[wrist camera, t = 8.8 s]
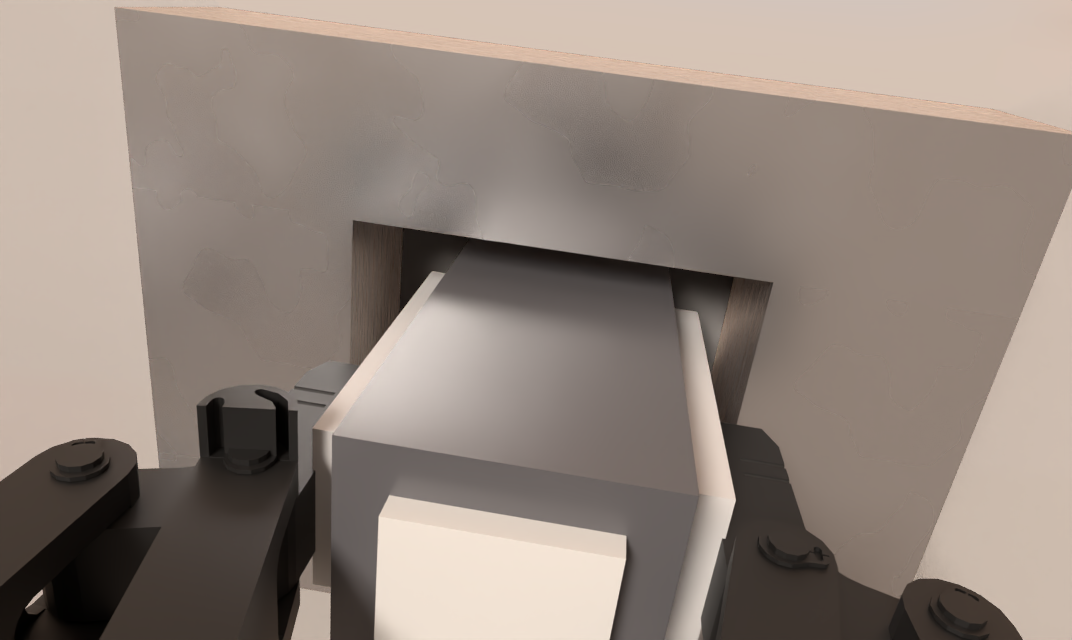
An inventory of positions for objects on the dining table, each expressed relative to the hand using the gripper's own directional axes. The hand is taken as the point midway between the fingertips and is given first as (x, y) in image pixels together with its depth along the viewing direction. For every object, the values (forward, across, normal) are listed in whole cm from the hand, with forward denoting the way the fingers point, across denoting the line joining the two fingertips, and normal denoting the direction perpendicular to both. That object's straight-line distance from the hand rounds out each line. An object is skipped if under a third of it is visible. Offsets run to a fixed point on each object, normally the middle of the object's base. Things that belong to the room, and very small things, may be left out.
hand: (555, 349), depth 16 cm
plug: (0, 0, 0) cm, 0 cm away
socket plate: (+2, 0, 0) cm, 2 cm away
